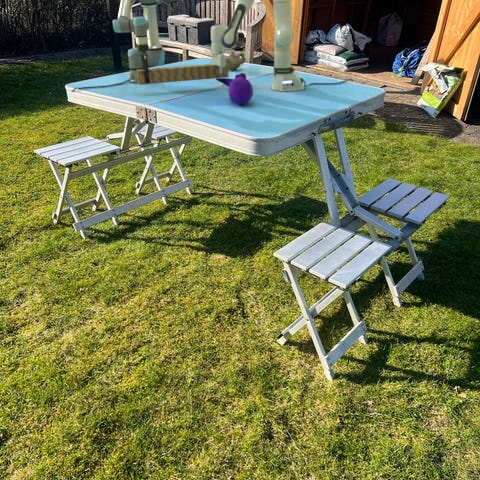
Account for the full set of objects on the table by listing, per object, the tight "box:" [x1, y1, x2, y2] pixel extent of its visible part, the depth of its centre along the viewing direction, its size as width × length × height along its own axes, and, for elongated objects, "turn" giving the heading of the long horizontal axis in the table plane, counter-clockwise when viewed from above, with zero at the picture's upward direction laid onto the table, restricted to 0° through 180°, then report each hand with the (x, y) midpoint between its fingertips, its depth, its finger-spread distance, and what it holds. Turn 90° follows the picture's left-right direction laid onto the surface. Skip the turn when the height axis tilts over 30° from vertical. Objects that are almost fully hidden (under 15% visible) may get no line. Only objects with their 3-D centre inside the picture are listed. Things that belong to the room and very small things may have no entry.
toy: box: [215, 72, 254, 106], centre depth 272 cm, size 16×18×27 cm
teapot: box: [224, 50, 246, 71], centre depth 368 cm, size 21×12×15 cm, turn 120°
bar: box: [137, 63, 230, 86], centre depth 299 cm, size 61×6×8 cm, turn 107°
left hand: (147, 82), depth 295 cm, fingers closed on bar, 6 cm apart
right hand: (219, 72), depth 305 cm, fingers closed on bar, 5 cm apart
